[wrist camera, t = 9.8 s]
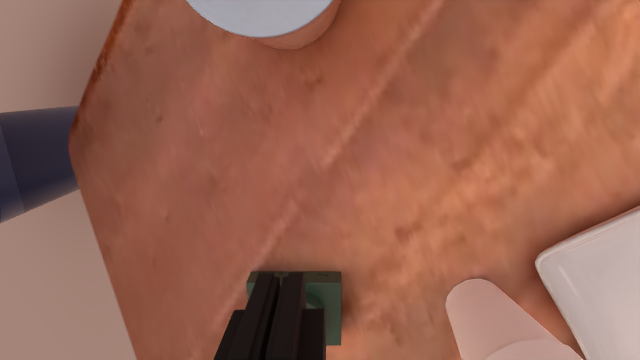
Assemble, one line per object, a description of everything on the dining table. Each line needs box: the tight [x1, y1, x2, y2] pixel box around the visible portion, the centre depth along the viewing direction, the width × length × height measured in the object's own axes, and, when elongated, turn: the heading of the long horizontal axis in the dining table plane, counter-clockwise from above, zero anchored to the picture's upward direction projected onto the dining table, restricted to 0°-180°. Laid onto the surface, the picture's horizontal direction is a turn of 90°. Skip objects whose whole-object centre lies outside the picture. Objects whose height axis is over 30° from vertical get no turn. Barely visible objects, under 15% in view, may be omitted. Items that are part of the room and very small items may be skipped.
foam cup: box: [445, 278, 583, 360], centre depth 31 cm, size 10×9×13 cm
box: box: [247, 272, 341, 345], centre depth 36 cm, size 10×8×4 cm
